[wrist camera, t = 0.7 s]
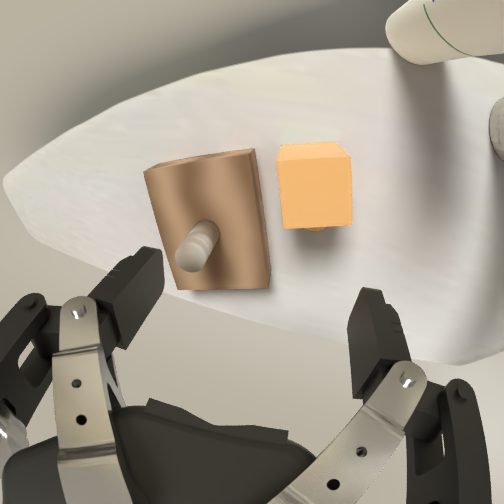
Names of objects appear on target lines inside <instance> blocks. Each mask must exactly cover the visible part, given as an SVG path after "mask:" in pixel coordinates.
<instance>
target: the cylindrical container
mask: <svg viewBox="0 0 504 504" xmlns="http://www.w3.org/2000/svg"><path fill="white" fill-rule="evenodd" d="M386 35H387V38H388V41H389V43H390V44H391V46H392V48H393V49H394V50H395V51H396V52H397V53H398V54H399V55H400V56H401V57H402V58H404V59H405V60H407V61H409V62H411V63H414V64H417V65H427V64H432V63H437V62H442V61H448V60H453V59H460V58H466V57H473V56H481V55H491V54H502V53H504V0H409V1H408V2H407V3H405V4H404V5H403V6H401V7H400V8H399V9H398V10H397V11H395V12H394V13H393V14H392V15H391V16H390V17H389V18H388V20H387V22H386Z"/></svg>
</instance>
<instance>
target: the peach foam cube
mask: <svg viewBox="0 0 504 504" xmlns="http://www.w3.org/2000/svg"><path fill="white" fill-rule="evenodd" d="M276 165H277V173H278V181H279V190H280V199H281V208H282V217H283V226H284V229H294V228H305V229H307V230H310V231H320V230H323V229H325V228H326V227H329V226H348V225H352V176H351V157H350V156H349V155H348V154H347V153H346V152H345V151H344V150H343V149H342V148H341V147H340V146H339V145H338V144H337V143H336V142H323V143H306V144H292V145H281V148H280V151H279V154H278V157H277V160H276Z"/></svg>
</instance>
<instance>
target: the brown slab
mask: <svg viewBox="0 0 504 504" xmlns="http://www.w3.org/2000/svg"><path fill="white" fill-rule="evenodd" d="M143 173H144V177H145V181H146V185H147V189H148V193H149V197H150V200H151V204H152V208H153V211H154V215H155V219H156V222H157V226H158V229H159V232H160V236H161V239H162V242H163V246H164V249H165V252H166V255H167V259H168V262H169V265H170V268H171V271H172V274H173V277H174V280H175V283H176V286H177V289H178V290H218V289H259V288H268V287H269V280H270V274H271V265H270V257H269V250H268V242H267V234H266V227H265V220H264V212H263V205H262V198H261V191H260V184H259V176H258V169H257V163H256V156H255V149H254V148H252V149H244V150H236V151H228V152H221V153H215V154H208V155H202V156H196V157H190V158H185V159H179V160H174V161H169V162H164V163H159V164H157V165H155V166H153V167H151V168H149V169H148V170H146V171H144V172H143Z"/></svg>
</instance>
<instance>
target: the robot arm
mask: <svg viewBox="0 0 504 504" xmlns="http://www.w3.org/2000/svg"><path fill="white" fill-rule="evenodd" d="M489 127H490V136H491V141H492V144H493V147H494V149H495V151H496V153H497V154H498V156H499V157H500V158H501V159H502V160H503V161H504V98H503V99H500V100H499V101H498V102H496V104H495V105H494V107H493V109H492V112H491V116H490V125H489ZM164 283H165V279H164V267H163V255H162V251H161V250H160V249H156V248H151V247H146V246H143V247H141V248H140V249H139V251H138V252H137V253H136V254H135V255H134V256H129V257H127V258H125V259H123V260H121V261H120V262H119V263H118V264H117V265H116V266H115V267H114V268H113V270H111V271H110V272H109V273H108V274H107V276H105V277H104V278H103V279H102V281H101V282H100V283H99V284H98V285H97V286H96V287H95V288H94V289H93V290H92V291H91V293H90V294H89V295H88V296H77V297H74V298H71V299H70V300H68V301H67V302H66V303H65V304H64V305H63V306H51V305H50V306H49V305H47V303H46V300H45V298H44V296H43V295H41V294H39V293H31V294H28V295H26V296H24V297H23V298H21V299H20V300H19V301H18V302H17V303H16V304H15V306H14V307H13V308H12V309H11V310H10V311H9V312H8V314H7V315H6V316H5V317H4V318H3V319H2V320H1V322H0V478H1V479H2V491H3V504H355V503H356V502H357V501H358V499H359V498H360V497H361V496H362V495H363V494H364V493H365V491H366V490H367V489H368V488H369V486H370V485H371V484H372V482H373V481H374V480H375V478H376V477H377V476H378V474H379V473H380V472H381V470H382V469H383V467H384V466H385V465H386V463H387V462H388V460H389V459H390V457H391V456H392V454H393V453H394V451H395V450H396V448H397V447H398V445H399V443H400V442H401V440H402V439H403V437H404V435H406V448H407V498H406V504H492V500H491V482H490V471H489V463H488V455H487V448H486V442H485V436H484V431H483V427H482V421H481V417H480V412H479V408H478V404H477V400H476V396H475V392H474V390H473V388H472V387H471V386H470V385H469V384H468V383H467V382H466V381H464V380H462V379H453V380H451V381H450V382H449V383H448V384H447V385H446V386H442V385H439V384H436V383H432V382H430V381H427V378H426V375H425V373H424V371H423V370H422V369H421V368H420V367H419V366H418V365H417V364H415V363H413V362H412V361H411V357H410V353H409V350H408V346H407V342H406V339H405V335H404V334H403V329H402V326H401V322H400V319H399V316H398V313H397V312H396V311H395V309H394V308H393V307H392V306H391V304H386V303H385V300H384V297H383V293H382V291H381V290H378V289H372V288H366V287H363V288H362V289H361V290H360V293H359V295H358V298H357V300H356V303H355V305H354V307H353V310H352V312H351V315H350V317H349V321H348V327H347V333H348V343H349V353H350V365H351V378H352V394H353V399H363V406H362V407H361V409H360V410H359V411H358V412H357V413H356V415H355V416H354V417H353V418H352V419H351V421H350V422H349V423H348V424H347V425H346V426H345V428H344V429H343V430H342V431H341V432H340V433H339V435H337V437H336V438H335V439H334V440H333V441H332V442H331V443H330V444H329V445H328V446H327V447H326V448H325V449H324V450H323V451H322V452H321V453H320V454H319V455H318V456H317V457H315V456H314V455H313V454H312V453H311V452H310V451H308V450H307V449H306V448H304V447H303V446H301V445H299V444H297V443H295V442H293V441H291V440H288V439H287V437H288V430H280V429H273V428H267V427H261V426H255V425H245V426H244V425H241V426H217V425H213V424H210V423H208V422H206V421H204V420H202V419H200V418H198V417H197V416H195V415H193V414H191V413H189V412H188V411H186V410H184V409H182V408H179V407H176V406H173V405H170V404H166V403H163V402H160V401H157V400H154V399H152V398H149V400H148V402H147V404H146V406H127V407H126V405H125V402H124V399H123V397H122V394H121V390H120V385H119V381H118V376H117V371H116V366H115V361H114V356H113V353H112V352H113V350H114V348H115V347H119V348H121V349H124V350H126V349H127V347H128V346H129V344H130V343H131V341H132V339H133V338H134V336H135V335H136V333H137V331H138V330H139V328H140V326H141V325H142V324H143V322H144V320H145V319H146V317H147V316H148V314H149V313H150V311H151V310H152V308H153V306H154V305H155V304H156V302H157V300H158V299H159V297H160V296H161V294H162V292H163V289H164ZM30 341H31V342H32V344H33V346H34V348H33V350H32V351H31V353H30V354H29V355H28V357H27V358H26V360H25V361H24V363H23V364H22V366H21V367H20V369H19V367H18V359H19V356H20V355H21V353H22V352H23V350H24V349H25V348H26V346H27V345H28V344H29V342H30ZM52 380H53V397H54V409H55V420H56V428H57V436H55V437H52V438H50V439H47V440H45V441H43V442H40V443H37V444H35V445H32V446H30V447H28V446H29V441H28V439H27V438H26V437H27V432H26V427H27V425H28V423H29V421H30V419H31V417H32V415H33V413H34V412H35V410H36V408H37V406H38V404H39V403H40V401H41V399H42V397H43V396H44V394H45V392H46V390H47V389H48V387H49V385H50V384H51V382H52ZM442 434H443V438H444V448H445V455H443V446H442V445H443V444H442V436H441V435H442Z"/></svg>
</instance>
